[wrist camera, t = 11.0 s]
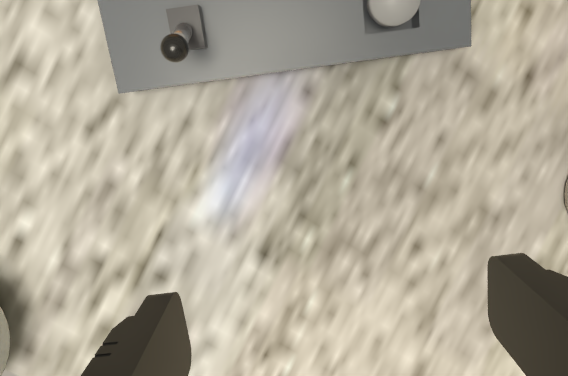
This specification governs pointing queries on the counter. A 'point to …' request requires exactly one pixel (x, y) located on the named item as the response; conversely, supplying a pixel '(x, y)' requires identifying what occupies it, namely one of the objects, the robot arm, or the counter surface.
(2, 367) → the cereal bowl
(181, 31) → the toggle lever
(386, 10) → the grey button
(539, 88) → the counter surface
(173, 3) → the control panel
